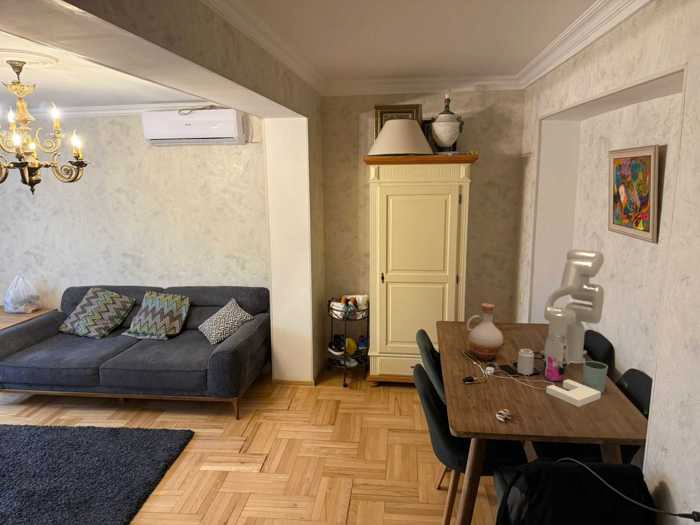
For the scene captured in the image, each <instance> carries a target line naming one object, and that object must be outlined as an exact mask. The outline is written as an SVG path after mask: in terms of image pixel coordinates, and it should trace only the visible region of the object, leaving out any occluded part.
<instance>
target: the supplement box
mask: <svg viewBox="0 0 700 525" xmlns="http://www.w3.org/2000/svg"><path fill="white" fill-rule="evenodd" d="M562 364H563V362H562ZM559 367H560V364H559V362H557V361H556V359H554V358H551V357H548V358H547V359H546V370H545V374H544V375H545V376H544V377H545V378H546V379H547V380H549V381H550V382H563V375H559Z"/></svg>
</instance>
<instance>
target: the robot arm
mask: <svg viewBox="0 0 700 525" xmlns="http://www.w3.org/2000/svg"><path fill="white" fill-rule="evenodd" d="M604 260H605V257H604V253H602V252H601V251H594V250H585V249H570V250H568V251H567V253H566V262H565V265H564V269H563V272H562V278H561V282H560V284H559V287H558V288H556V289H555V290H554V291H553V292H552V293H551V294H550V295H549V296H548V298H547V301H546V303H545V308H544V312H543V314H544V316H543V317H544V319H545V321H548V324H549V325H548V335H547V338H546V340H545V345H544V349H542V350H540V351H539V353H540V355H541V358H542V360H543V362H544V363H543V364H544V366H543V370H545V371H546V359H547V358H548V357H551V358H554V359H556V361H557V362H559V364H560V367H559V375H562V376H563V375H565V372H566V370H565V369H566V367H567V366H569V365H570V364H577V365H578V364H579V365H580V364H583V363H584V362H586V357H584V355H586V354H587V353H588V351H587V350H585V349H584V345H585V344H584V343H585V333H586V330H585V326H584V324H583V323H589V324H593V325H595V324H596V325H597V324H599V323H600V322H601V319H602V317H603V316H602V314H603V306H604V300H605V299H604V298H605V292H604V291H605V290H604V287H603V286H602V285H600V284H595V283H590V278H591V279H593V278H595V277H596V276H597V275H598V273H599V271H600V269H601V268H602V266H603V264H604ZM569 295H570V298H571V299H573V300H576V301H582V302H587V303H582V302H575V301H574V302H573V301H572V302H568V303H567V304H566V305H565V306H564V308H563V307H558V306H554V305H555V302H557V300H558V299H559V298H563V297H564V296H565V297H566V296H569ZM588 303H591V304H588ZM562 362H563V364H562Z"/></svg>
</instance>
